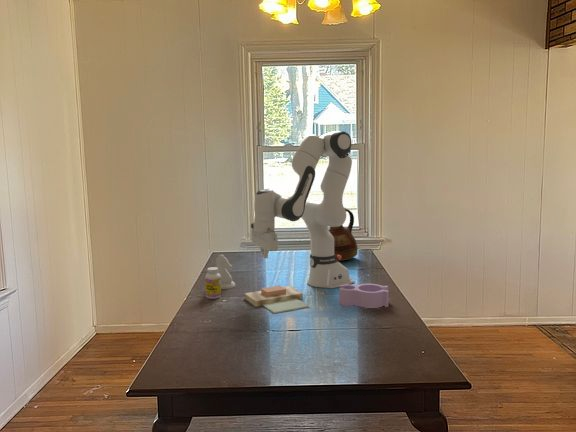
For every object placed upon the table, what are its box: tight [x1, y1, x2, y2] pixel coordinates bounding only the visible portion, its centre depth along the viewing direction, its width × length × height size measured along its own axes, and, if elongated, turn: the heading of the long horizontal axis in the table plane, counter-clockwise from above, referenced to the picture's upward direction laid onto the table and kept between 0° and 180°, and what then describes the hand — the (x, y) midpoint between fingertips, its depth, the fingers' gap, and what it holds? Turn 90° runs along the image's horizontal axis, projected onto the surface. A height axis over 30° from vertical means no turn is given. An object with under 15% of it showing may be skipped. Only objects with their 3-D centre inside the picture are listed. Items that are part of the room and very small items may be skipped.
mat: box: [262, 298, 310, 314], centre depth 209 cm, size 16×11×1 cm
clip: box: [338, 283, 390, 309], centre depth 211 cm, size 20×12×7 cm, turn 81°
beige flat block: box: [244, 285, 304, 308], centre depth 219 cm, size 22×12×2 cm, turn 117°
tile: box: [260, 285, 286, 297], centre depth 218 cm, size 9×6×2 cm, turn 117°
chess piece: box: [215, 254, 236, 290], centre depth 237 cm, size 10×10×15 cm
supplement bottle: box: [205, 266, 222, 300], centre depth 221 cm, size 7×7×13 cm
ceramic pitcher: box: [328, 207, 358, 262], centre depth 283 cm, size 20×20×30 cm
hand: (264, 257), depth 223 cm, fingers closed
